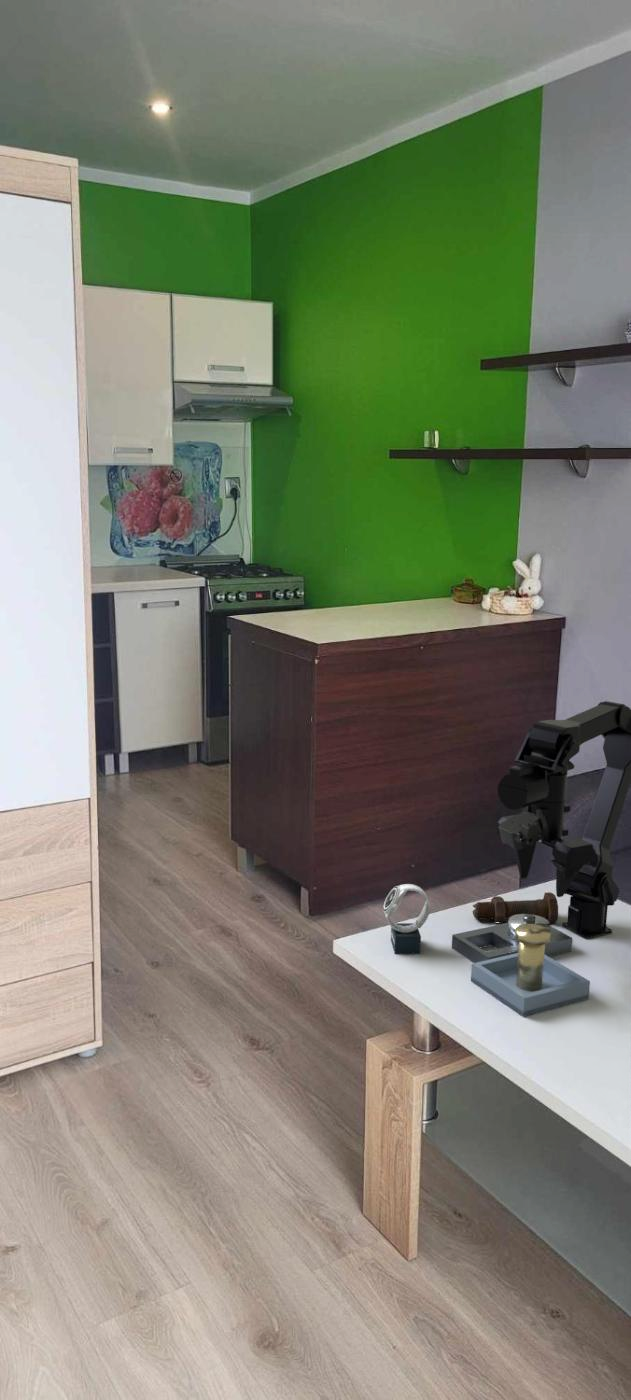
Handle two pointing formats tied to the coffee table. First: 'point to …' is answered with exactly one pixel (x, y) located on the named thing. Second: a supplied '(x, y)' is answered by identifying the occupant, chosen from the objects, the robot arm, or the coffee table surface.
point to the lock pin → (531, 955)
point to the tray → (555, 991)
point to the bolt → (517, 908)
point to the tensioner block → (506, 939)
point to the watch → (405, 934)
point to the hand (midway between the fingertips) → (541, 887)
